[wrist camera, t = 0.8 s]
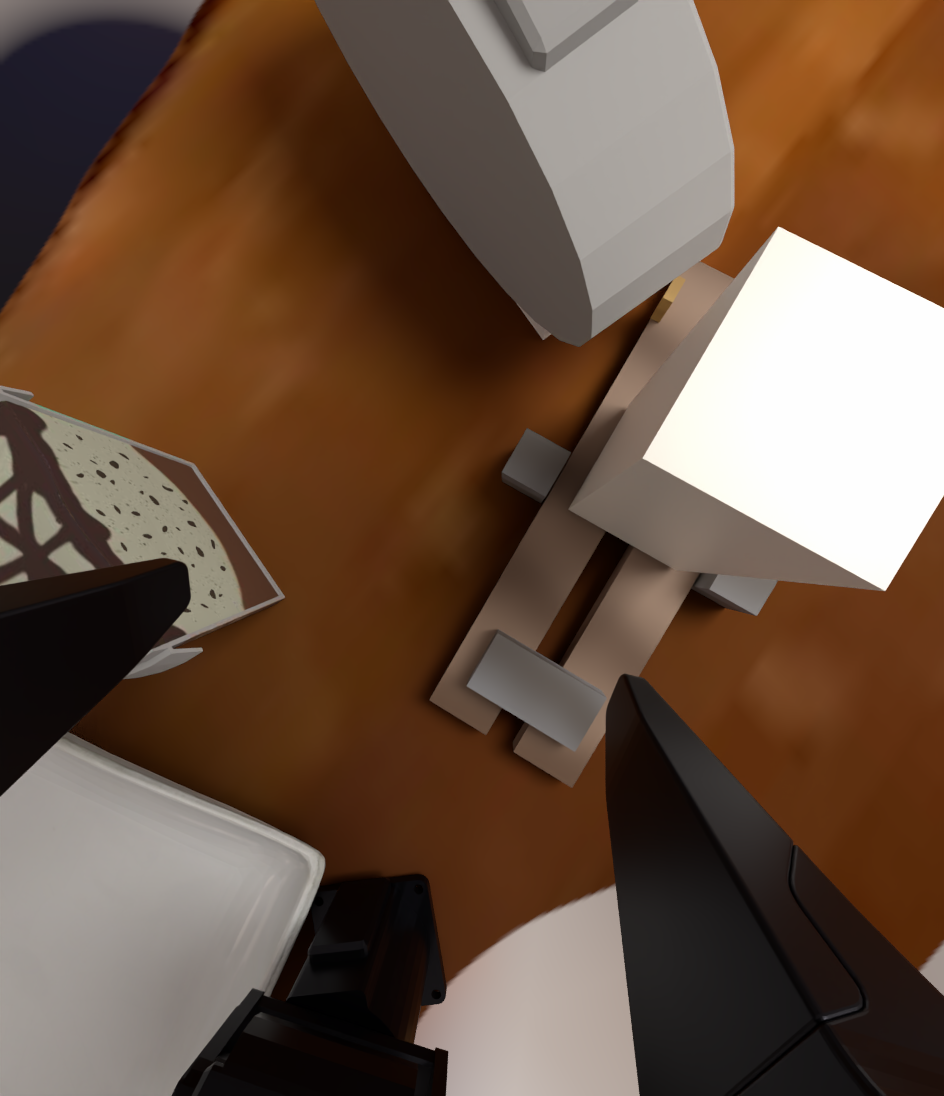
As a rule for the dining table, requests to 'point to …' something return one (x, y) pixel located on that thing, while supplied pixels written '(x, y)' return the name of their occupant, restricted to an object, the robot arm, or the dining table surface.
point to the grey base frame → (555, 565)
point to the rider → (785, 429)
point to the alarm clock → (556, 139)
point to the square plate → (132, 923)
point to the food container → (119, 520)
